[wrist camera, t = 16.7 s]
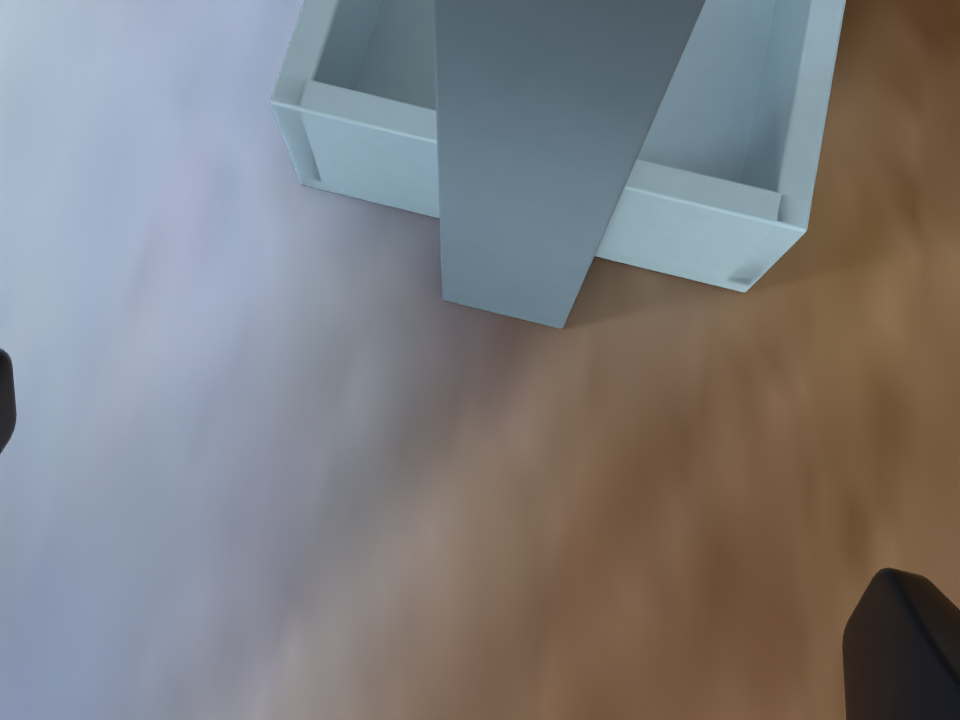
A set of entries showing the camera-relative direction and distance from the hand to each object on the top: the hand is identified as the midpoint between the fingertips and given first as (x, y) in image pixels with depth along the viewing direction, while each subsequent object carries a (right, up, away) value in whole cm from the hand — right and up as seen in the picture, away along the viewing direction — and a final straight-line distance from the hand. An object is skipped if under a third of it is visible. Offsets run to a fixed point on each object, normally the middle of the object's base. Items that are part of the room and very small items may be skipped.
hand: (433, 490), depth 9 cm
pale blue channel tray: (+2, +7, +10) cm, 12 cm away
